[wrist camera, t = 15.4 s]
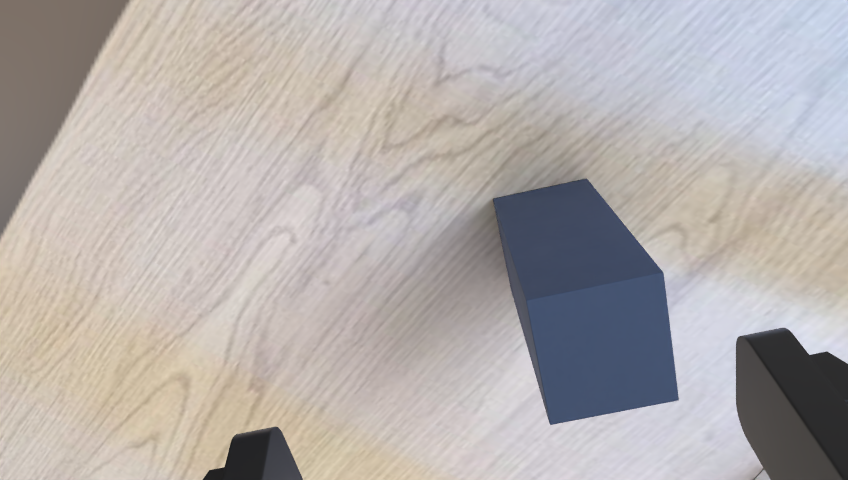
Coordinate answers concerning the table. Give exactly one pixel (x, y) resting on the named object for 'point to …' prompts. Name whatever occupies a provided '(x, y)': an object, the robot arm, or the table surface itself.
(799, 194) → the table surface
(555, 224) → the rectangular box
